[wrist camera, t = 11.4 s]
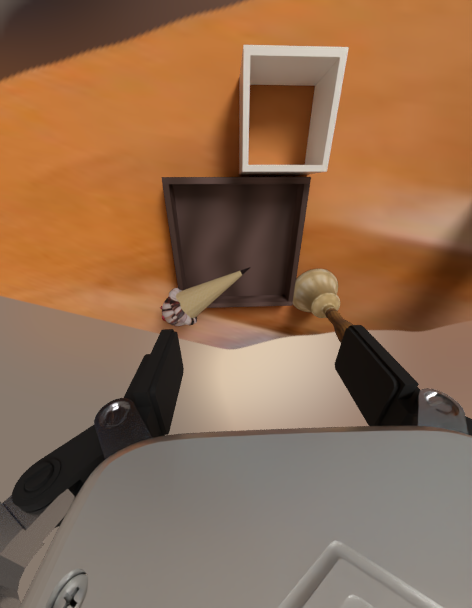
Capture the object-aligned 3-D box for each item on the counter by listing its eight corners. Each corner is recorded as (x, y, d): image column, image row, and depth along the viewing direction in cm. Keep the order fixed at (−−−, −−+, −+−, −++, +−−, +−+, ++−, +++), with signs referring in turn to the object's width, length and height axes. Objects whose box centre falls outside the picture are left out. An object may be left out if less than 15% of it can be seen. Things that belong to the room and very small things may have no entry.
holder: (321, 78, 24) (348, 47, 18) (307, 174, 28) (326, 171, 23) (239, 77, 23) (243, 44, 18) (239, 174, 28) (242, 171, 22)
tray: (302, 178, 28) (310, 176, 26) (287, 297, 37) (292, 305, 34) (167, 178, 28) (161, 177, 25) (184, 299, 36) (181, 308, 34)
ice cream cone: (236, 242, 26) (142, 300, 29) (257, 279, 25) (157, 337, 28) (245, 257, 32) (166, 305, 34) (263, 289, 31) (179, 336, 33)
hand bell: (307, 319, 40) (352, 390, 26) (280, 291, 36) (314, 356, 22) (346, 290, 37) (419, 353, 23) (320, 258, 34) (387, 307, 20)
